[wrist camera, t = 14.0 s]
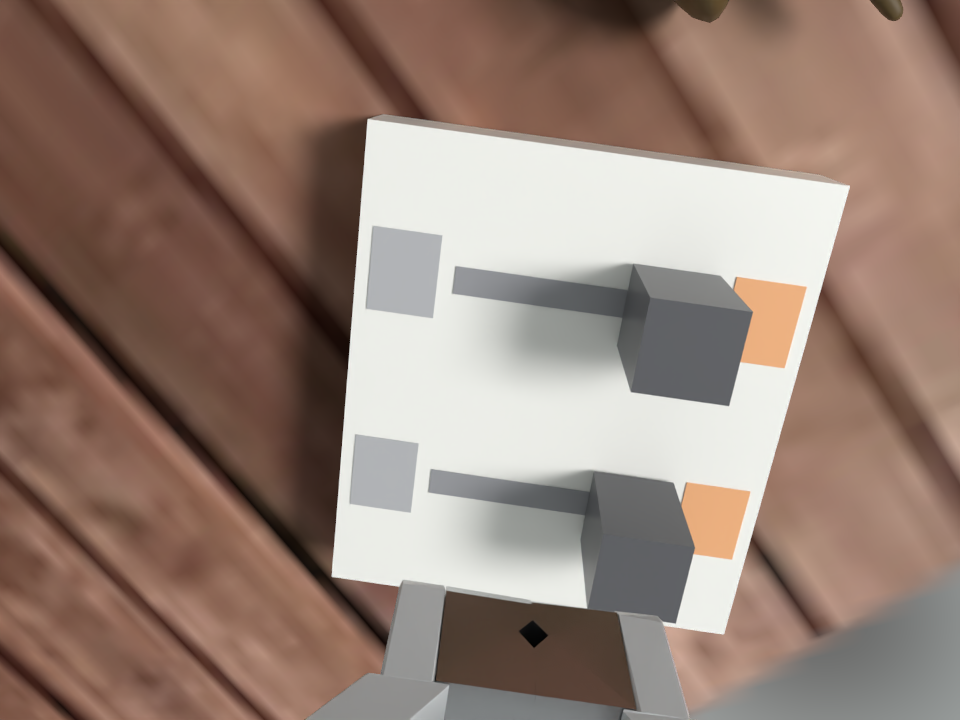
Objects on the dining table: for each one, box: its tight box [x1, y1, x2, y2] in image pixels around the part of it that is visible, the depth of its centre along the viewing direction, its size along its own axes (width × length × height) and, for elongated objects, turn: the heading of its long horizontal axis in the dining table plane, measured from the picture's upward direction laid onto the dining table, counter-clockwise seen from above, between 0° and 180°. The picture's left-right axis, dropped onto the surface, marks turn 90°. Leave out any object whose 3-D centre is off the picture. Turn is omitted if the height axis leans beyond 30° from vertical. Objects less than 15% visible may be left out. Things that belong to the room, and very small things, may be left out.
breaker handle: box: [617, 263, 753, 406], centre depth 26 cm, size 3×3×4 cm
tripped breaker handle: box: [580, 471, 695, 624], centre depth 29 cm, size 3×3×4 cm
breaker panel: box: [332, 114, 850, 634], centre depth 31 cm, size 16×18×3 cm
